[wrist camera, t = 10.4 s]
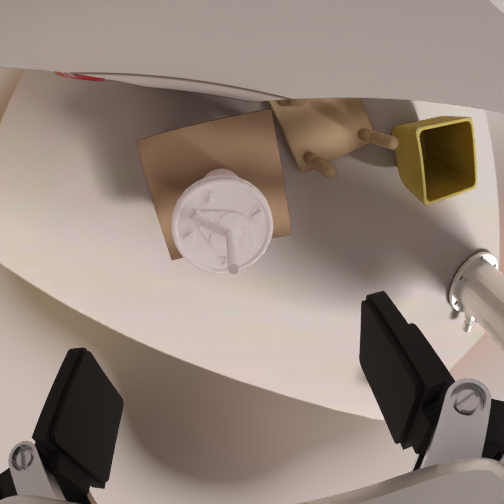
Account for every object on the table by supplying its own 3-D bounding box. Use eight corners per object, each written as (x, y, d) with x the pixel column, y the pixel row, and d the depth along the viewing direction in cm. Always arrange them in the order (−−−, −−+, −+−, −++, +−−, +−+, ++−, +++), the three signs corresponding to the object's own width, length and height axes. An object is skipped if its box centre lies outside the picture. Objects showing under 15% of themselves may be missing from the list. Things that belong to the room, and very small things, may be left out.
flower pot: (437, 169, 38) (478, 188, 30) (387, 184, 38) (425, 207, 30) (428, 109, 34) (472, 116, 26) (375, 120, 34) (415, 128, 26)
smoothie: (233, 233, 30) (245, 331, 17) (173, 201, 28) (139, 284, 15) (270, 176, 28) (313, 241, 15) (208, 140, 26) (196, 174, 13)
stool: (276, 206, 38) (291, 234, 31) (180, 227, 38) (171, 260, 31) (259, 108, 33) (271, 109, 25) (154, 132, 33) (136, 141, 25)
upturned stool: (370, 139, 35) (407, 151, 28) (300, 170, 36) (321, 189, 29) (340, 64, 31) (373, 56, 23) (264, 94, 32) (277, 91, 24)
